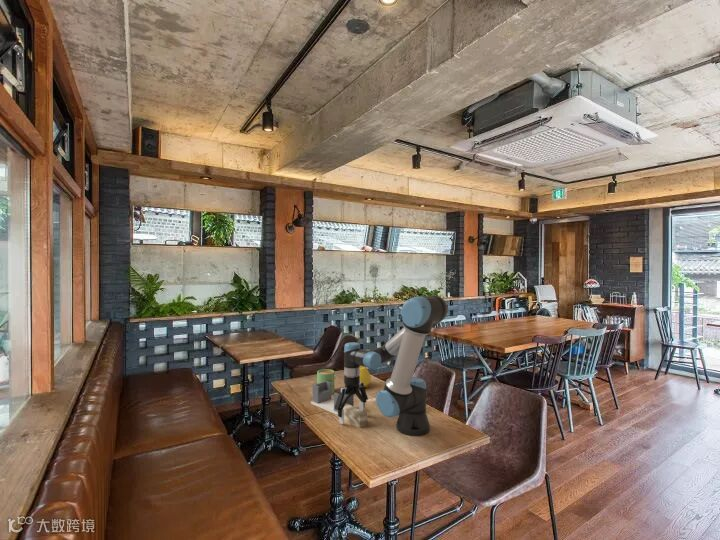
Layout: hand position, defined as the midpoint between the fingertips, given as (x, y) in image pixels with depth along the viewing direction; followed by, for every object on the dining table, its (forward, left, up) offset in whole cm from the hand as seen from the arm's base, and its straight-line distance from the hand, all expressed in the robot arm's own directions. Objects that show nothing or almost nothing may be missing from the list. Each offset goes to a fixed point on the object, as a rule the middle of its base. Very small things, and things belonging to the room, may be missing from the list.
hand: (351, 419), depth 182 cm
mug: (+40, -18, -1) cm, 44 cm away
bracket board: (+20, -5, -1) cm, 21 cm away
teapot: (+36, -38, -1) cm, 52 cm away
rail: (0, 0, -1) cm, 1 cm away
